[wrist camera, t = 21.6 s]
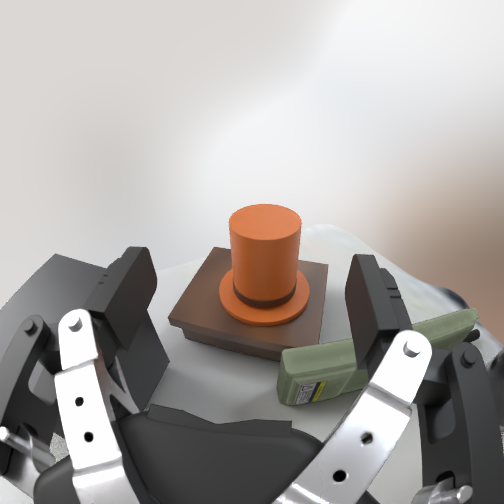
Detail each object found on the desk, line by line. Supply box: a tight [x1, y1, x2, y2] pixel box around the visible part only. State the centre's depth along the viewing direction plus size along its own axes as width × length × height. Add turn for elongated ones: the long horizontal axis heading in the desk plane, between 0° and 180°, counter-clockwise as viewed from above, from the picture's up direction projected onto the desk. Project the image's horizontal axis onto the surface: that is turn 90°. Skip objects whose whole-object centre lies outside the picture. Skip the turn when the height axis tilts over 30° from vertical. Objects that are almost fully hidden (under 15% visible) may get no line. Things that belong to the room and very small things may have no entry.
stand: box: [168, 247, 328, 362], centre depth 29 cm, size 14×12×4 cm
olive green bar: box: [277, 308, 480, 405], centre depth 21 cm, size 7×3×25 cm
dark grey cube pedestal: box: [0, 254, 170, 439], centre depth 18 cm, size 10×12×12 cm
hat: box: [219, 204, 310, 326], centre depth 25 cm, size 9×9×8 cm
